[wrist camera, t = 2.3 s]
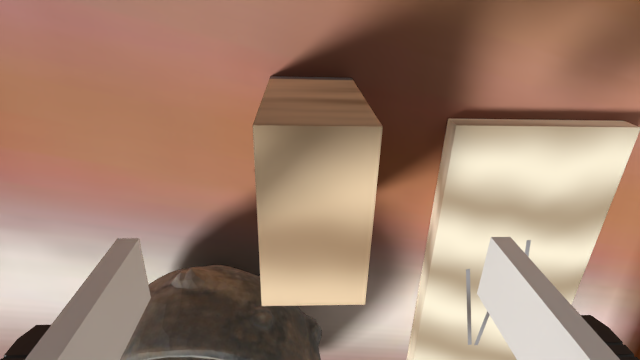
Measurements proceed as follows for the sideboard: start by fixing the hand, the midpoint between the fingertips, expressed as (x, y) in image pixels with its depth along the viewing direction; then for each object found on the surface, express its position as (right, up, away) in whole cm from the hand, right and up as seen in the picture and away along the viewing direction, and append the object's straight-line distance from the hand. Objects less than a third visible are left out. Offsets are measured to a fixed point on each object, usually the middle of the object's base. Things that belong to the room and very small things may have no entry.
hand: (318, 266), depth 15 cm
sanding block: (-1, +6, +11) cm, 12 cm away
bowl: (-7, -7, +17) cm, 20 cm away
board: (+14, -4, +16) cm, 22 cm away
